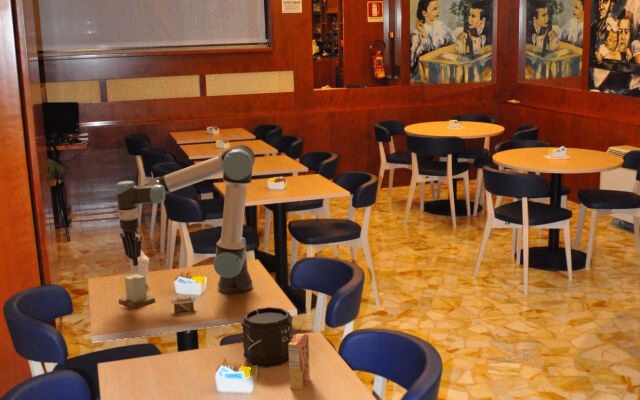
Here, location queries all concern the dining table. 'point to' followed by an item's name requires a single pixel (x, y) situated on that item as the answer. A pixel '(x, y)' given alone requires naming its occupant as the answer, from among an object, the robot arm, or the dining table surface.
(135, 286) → the sage cap
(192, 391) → the dining table surface
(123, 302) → the post base
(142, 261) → the soft serve ice cream cone
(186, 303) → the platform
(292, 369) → the candy box
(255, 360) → the wooden barrel
